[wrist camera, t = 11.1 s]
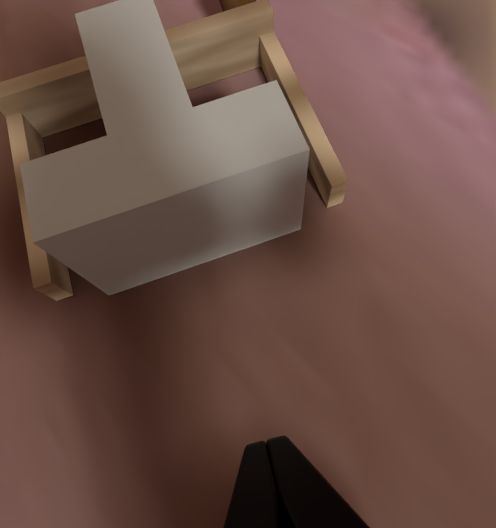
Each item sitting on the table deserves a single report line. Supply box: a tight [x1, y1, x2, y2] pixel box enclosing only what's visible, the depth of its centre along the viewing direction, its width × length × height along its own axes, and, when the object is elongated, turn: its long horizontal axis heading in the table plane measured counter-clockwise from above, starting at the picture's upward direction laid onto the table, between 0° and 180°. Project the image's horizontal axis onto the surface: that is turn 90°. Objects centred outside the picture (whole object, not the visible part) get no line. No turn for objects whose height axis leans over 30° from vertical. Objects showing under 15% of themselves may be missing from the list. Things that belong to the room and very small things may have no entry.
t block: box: [20, 0, 310, 296], centre depth 23 cm, size 12×12×8 cm
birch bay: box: [0, 0, 349, 301], centre depth 25 cm, size 13×18×4 cm
